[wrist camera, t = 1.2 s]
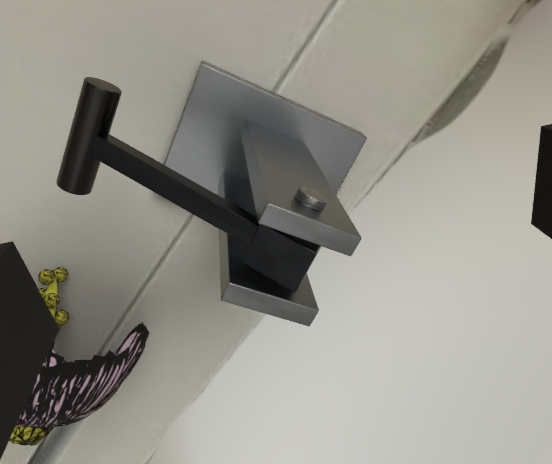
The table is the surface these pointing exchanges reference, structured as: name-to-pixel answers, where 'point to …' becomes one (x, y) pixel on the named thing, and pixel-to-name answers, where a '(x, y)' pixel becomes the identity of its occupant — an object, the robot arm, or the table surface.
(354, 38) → the table surface
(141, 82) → the table surface
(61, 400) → the decorative flower
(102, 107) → the lever
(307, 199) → the bracket
